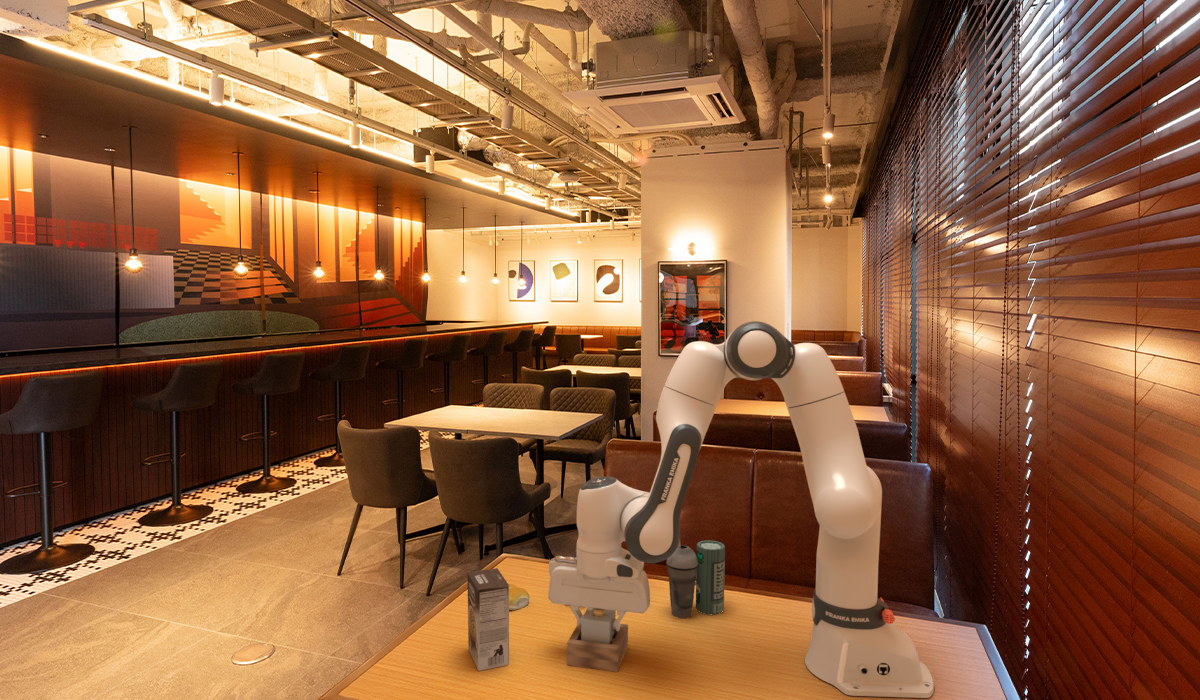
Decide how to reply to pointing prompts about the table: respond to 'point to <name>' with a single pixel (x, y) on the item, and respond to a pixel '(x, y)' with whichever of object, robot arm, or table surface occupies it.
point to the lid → (597, 625)
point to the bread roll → (517, 597)
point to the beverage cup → (682, 580)
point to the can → (710, 577)
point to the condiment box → (597, 651)
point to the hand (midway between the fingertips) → (598, 627)
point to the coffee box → (488, 618)
